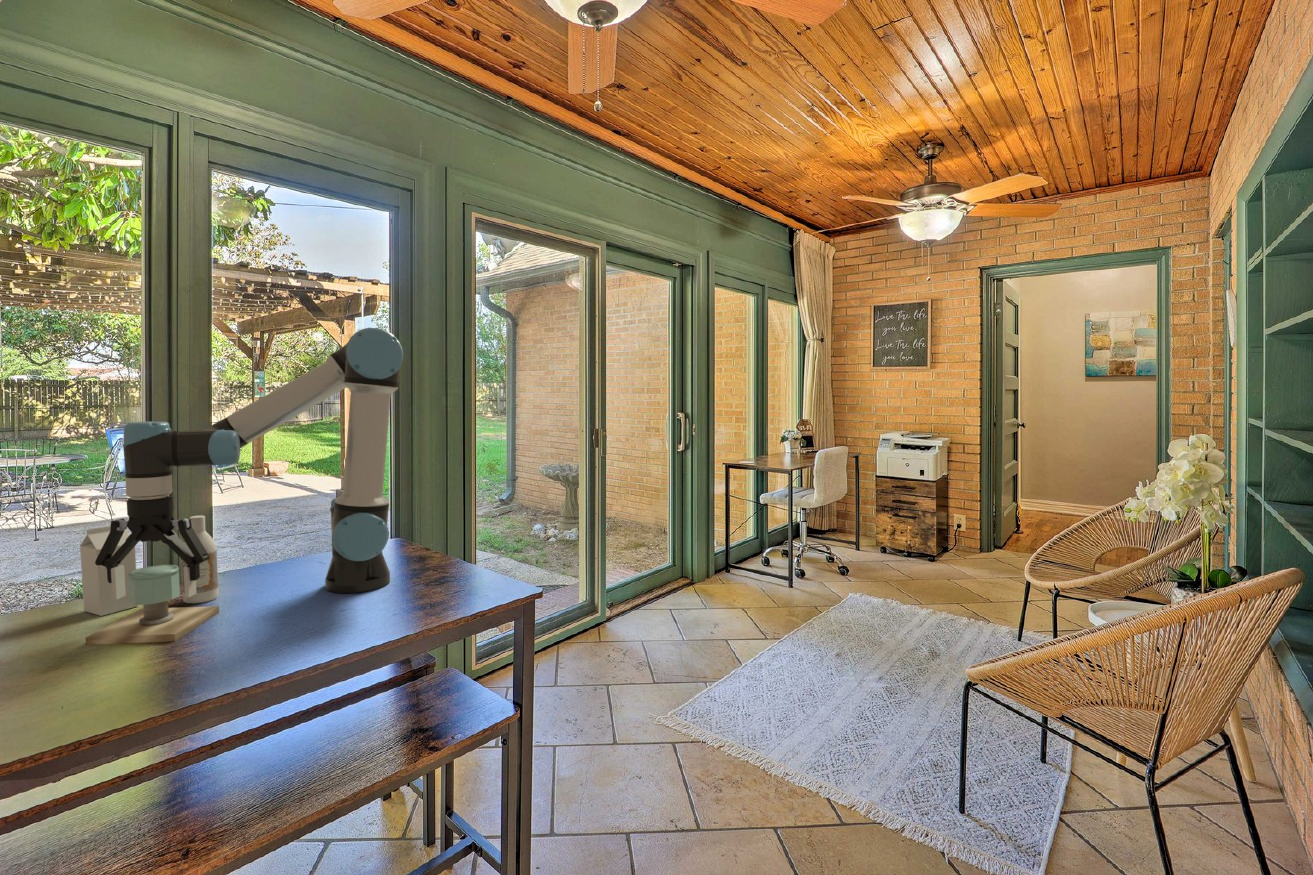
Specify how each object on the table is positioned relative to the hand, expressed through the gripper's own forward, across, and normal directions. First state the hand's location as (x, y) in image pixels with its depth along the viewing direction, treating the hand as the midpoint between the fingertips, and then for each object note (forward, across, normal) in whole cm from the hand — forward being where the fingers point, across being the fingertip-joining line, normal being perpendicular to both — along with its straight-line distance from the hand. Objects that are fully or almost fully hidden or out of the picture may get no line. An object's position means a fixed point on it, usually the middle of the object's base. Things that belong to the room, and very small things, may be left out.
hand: (155, 596), depth 132 cm
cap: (0, 0, 0) cm, 0 cm away
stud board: (+7, 0, 0) cm, 7 cm away
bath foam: (+7, +1, -18) cm, 19 cm away
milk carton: (+7, +17, -13) cm, 22 cm away
